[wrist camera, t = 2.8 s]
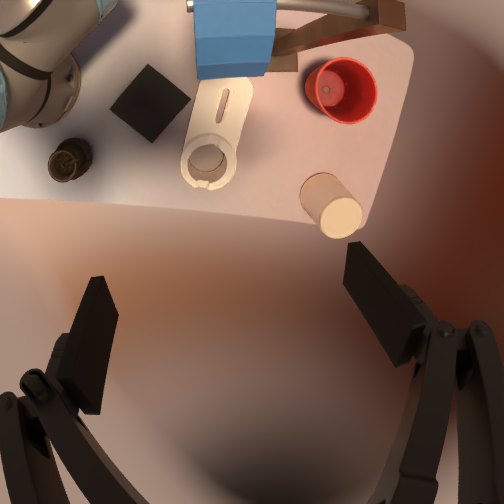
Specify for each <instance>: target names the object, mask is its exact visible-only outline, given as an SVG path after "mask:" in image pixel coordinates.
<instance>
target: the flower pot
mask: <svg viewBox="0 0 504 504" xmlns="http://www.w3.org/2000/svg"><path fill="white" fill-rule="evenodd" d="M305 91H306V95H307V97H308V99H309V100H310V101H311V102H312V103H313V104H314V105H315V106H316V107H317V108H318V109H320V110H321V111H322V112H323V113H324V114H325V115H327V116H328V117H330V118H331V119H333V120H334V121H336V122H339V123H343V124H355V123H358V122H361V121H362V120H364V119H365V118H366V117H368V116H369V115H370V113H371V112H372V110H373V109H374V106H375V104H376V100H377V86H376V82H375V79H374V77H373V75H372V74H371V72H370V71H369V70H368V68H367V67H366V66H365V65H363V64H362V63H361V62H359V61H357V60H355V59H352V58H347V57H340V58H335V59H332V60H330V61H328V62H326V63H324V64H323V65H321V66H320V67H318V68H317V69H315V70H314V71H313V72H312V73H311V74H310V75H309V76H308V78H307V80H306V83H305Z"/></svg>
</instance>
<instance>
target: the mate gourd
mask: <svg viewBox="0 0 504 504" xmlns="http://www.w3.org/2000/svg"><path fill="white" fill-rule="evenodd" d="M91 163H92V152H91V148H90V146H89V145H88V144H87V143H86V142H85V141H84V140H81V139H77V138H72V139H67V140H64V141H63V142H62V143H60V144H59V146H58V147H57V149H56V150H55V152H54V153H53V154H52V155H51V156H50V158H49V161H48V170H49V173H50V175H51V177H52V178H53V179H54V180H56V181H57V182H68V181H70V180H75V179H77V178H78V177H80V176H82V175H83V174H84V173H86V172H87V171H88V169H89V168H90V165H91Z"/></svg>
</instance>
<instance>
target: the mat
mask: <svg viewBox="0 0 504 504" xmlns="http://www.w3.org/2000/svg"><path fill="white" fill-rule="evenodd" d="M190 100H191V99H190V98H189V97H188V96H187V95H186V94H184V93H183V92H182V91H181V90H180V89H178V88H177V87H176V86H175V85H174V84H172V83H171V82H170V81H169V80H167V79H166V78H165V77H164V76H163V75H161V74H160V73H159V72H158V71H156V70H155V69H154V68H153V67H151V66H150V65H149V64H147V65H146V66H145V68H144V69H143V70H142V71H141V72H140V73H139V74H138V75H137V77H136V78H135V79H134V80H133V81H132V82H131V84H130V85H129V86H128V87H127V88H126V90H125V91H124V92H123V93H122V94H121V96H120V97H119V98H118V99H117V101H116V102H115V103H114V104H113V106H112V107H111V108H110V110H111V111H112V112H113V113H115V114H116V115H117V116H118V117H120V118H121V119H122V120H123V121H125V122H126V123H127V124H128V125H130V126H131V127H132V128H134V129H135V130H136V131H137V132H139V133H140V134H141V135H142V136H144V137H145V138H146V139H147V140H149V141H150V142H151V143H153V142H154V141H155V139H156V138H157V137H158V136H159V135H160V134H161V132H162V131H163V130H164V129H165V128H166V127H167V125H168V124H169V123H170V122H171V121H172V120H173V119H174V118H175V116H176V115H177V114H178V113H179V112H180V111H181V110H182V109H183V108H184V107H185V106H186V104H187V103H188V102H189V101H190Z"/></svg>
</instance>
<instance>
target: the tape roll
mask: <svg viewBox="0 0 504 504" xmlns="http://www.w3.org/2000/svg"><path fill="white" fill-rule="evenodd" d="M276 8H277V0H193V9H194V30H195V48H196V64H197V78H198V80H209V79H221V78H235V77H257V76H264V73H265V71H266V69H267V67H268V65H269V63H270V59H271V54H272V48H273V43H274V38H275V26H276Z"/></svg>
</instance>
